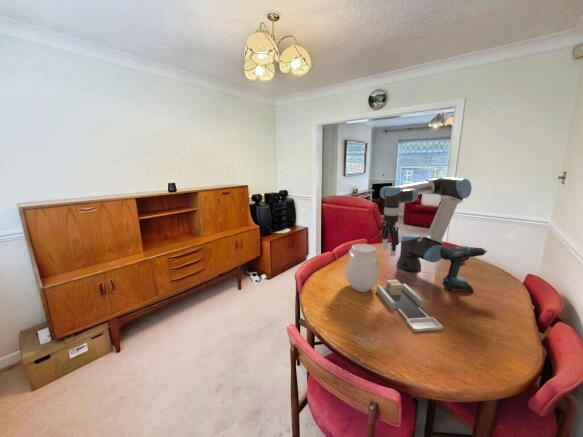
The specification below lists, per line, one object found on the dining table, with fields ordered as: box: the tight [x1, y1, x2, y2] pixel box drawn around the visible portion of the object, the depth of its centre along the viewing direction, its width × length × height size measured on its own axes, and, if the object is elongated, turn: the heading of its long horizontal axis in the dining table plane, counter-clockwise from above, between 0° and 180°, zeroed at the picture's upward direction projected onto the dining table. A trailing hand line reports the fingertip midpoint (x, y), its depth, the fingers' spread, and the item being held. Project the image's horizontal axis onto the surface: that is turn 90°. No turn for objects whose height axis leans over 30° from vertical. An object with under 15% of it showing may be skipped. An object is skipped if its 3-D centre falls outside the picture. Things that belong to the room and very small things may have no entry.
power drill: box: [440, 245, 488, 293], centre depth 140 cm, size 9×23×25 cm, turn 78°
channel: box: [376, 283, 425, 310], centre depth 132 cm, size 18×17×4 cm
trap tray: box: [405, 316, 444, 333], centre depth 111 cm, size 7×13×2 cm, turn 94°
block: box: [385, 279, 403, 295], centre depth 138 cm, size 6×6×6 cm
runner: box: [382, 287, 431, 322], centre depth 129 cm, size 30×13×1 cm, turn 4°
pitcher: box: [345, 243, 380, 293], centre depth 142 cm, size 19×18×25 cm
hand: (388, 252), depth 143 cm, fingers open, 9 cm apart
